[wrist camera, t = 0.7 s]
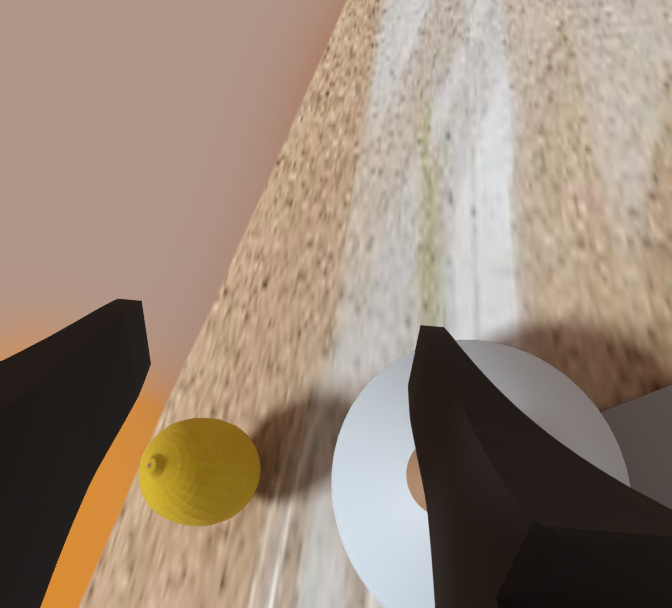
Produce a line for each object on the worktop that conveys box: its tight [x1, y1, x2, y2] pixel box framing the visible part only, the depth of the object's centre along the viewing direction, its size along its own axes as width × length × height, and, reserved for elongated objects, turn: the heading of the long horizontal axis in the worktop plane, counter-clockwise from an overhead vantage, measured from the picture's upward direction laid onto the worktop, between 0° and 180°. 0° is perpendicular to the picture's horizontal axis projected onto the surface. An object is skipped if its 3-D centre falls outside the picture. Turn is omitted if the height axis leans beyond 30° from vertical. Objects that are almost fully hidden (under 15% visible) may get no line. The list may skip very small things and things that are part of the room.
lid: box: [331, 340, 631, 608], centre depth 20 cm, size 12×12×4 cm
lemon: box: [139, 418, 261, 526], centre depth 26 cm, size 6×6×8 cm
